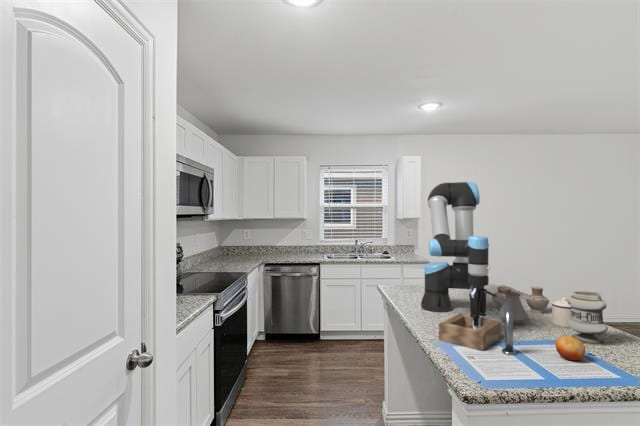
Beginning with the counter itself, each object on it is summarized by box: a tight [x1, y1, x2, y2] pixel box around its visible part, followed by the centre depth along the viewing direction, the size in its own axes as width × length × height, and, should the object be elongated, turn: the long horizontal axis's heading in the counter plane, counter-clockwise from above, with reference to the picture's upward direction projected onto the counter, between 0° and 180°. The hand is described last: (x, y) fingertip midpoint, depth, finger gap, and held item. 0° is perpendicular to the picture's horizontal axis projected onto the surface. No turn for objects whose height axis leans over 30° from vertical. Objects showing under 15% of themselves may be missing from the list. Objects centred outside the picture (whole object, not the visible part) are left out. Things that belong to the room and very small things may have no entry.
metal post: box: [501, 311, 517, 356], centre depth 120 cm, size 4×4×14 cm
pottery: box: [491, 286, 550, 314], centre depth 175 cm, size 11×25×12 cm, turn 68°
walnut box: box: [438, 313, 502, 352], centre depth 134 cm, size 16×20×6 cm
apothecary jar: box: [567, 290, 609, 346], centre depth 132 cm, size 12×12×18 cm
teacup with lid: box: [551, 297, 571, 329], centre depth 152 cm, size 12×9×12 cm
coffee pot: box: [486, 290, 529, 326], centre depth 156 cm, size 21×12×15 cm, turn 80°
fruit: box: [555, 335, 586, 361], centre depth 116 cm, size 8×8×8 cm
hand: (478, 332), depth 140 cm, fingers closed on walnut box, 3 cm apart
